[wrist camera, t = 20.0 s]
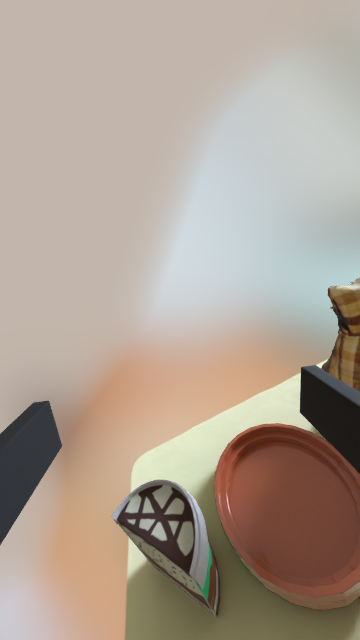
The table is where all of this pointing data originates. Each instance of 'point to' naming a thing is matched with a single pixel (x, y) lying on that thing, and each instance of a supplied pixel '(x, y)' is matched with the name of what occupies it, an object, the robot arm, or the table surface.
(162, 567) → the food container
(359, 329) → the plaid fabric bag
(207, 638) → the table surface
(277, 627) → the table surface
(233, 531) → the terracotta plant saucer
